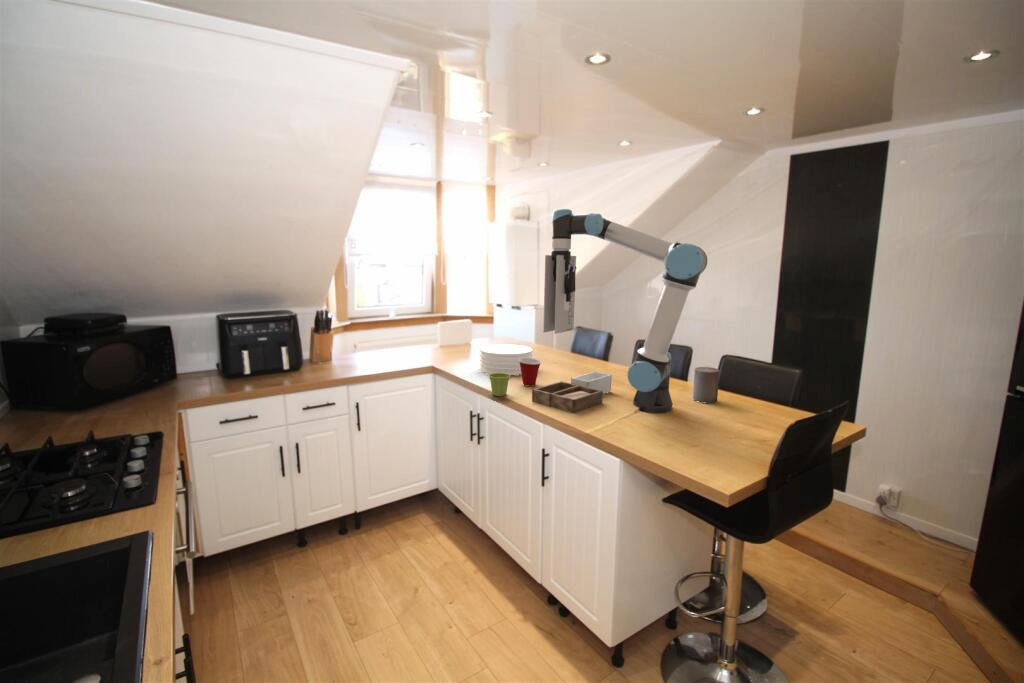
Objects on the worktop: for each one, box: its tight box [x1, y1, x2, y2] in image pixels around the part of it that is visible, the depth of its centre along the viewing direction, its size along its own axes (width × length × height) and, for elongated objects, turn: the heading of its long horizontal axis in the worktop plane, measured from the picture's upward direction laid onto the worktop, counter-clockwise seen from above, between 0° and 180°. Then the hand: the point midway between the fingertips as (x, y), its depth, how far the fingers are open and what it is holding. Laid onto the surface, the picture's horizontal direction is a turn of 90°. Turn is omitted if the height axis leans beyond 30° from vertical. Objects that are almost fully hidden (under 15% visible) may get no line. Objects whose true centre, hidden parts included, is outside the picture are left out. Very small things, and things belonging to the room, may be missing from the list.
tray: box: [531, 380, 604, 414], centre depth 185 cm, size 21×19×6 cm
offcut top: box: [560, 391, 590, 399], centre depth 182 cm, size 8×14×2 cm, turn 128°
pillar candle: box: [692, 365, 720, 404], centre depth 193 cm, size 10×10×15 cm
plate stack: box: [479, 344, 534, 376], centre depth 246 cm, size 28×28×12 cm
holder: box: [570, 371, 613, 395], centre depth 201 cm, size 9×18×8 cm, turn 136°
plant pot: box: [488, 373, 511, 397], centre depth 198 cm, size 9×9×9 cm
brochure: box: [542, 254, 577, 335], centre depth 182 cm, size 14×6×30 cm, turn 143°
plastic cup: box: [519, 357, 542, 387], centre depth 215 cm, size 11×11×12 cm
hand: (559, 309), depth 183 cm, fingers closed on brochure, 6 cm apart
